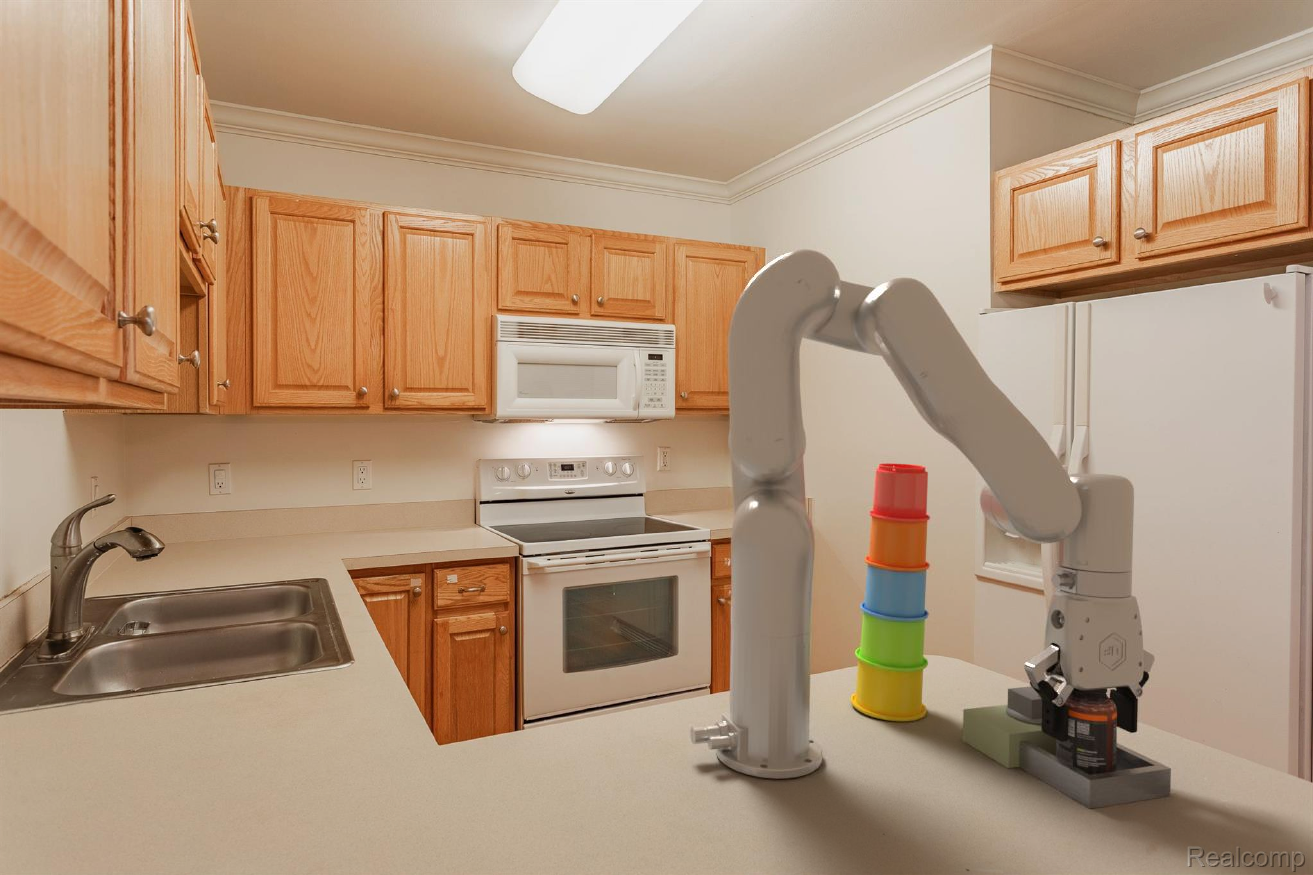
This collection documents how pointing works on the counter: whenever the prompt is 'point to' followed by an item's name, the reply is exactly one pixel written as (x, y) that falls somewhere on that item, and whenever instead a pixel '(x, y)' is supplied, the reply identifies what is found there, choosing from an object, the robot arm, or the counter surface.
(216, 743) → the counter surface
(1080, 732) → the supplement bottle
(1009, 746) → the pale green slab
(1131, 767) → the grey square tray
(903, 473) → the stacking cups
